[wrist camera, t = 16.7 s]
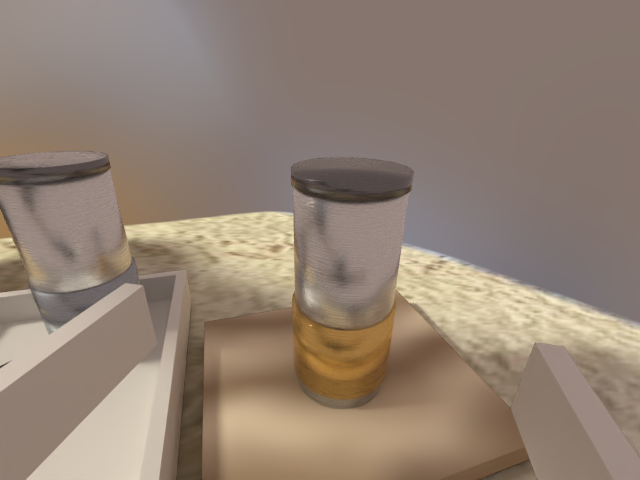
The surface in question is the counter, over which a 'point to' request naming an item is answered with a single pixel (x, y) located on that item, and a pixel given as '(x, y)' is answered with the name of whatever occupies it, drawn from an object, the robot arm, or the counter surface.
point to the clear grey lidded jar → (66, 230)
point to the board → (348, 410)
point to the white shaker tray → (119, 392)
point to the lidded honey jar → (346, 274)
